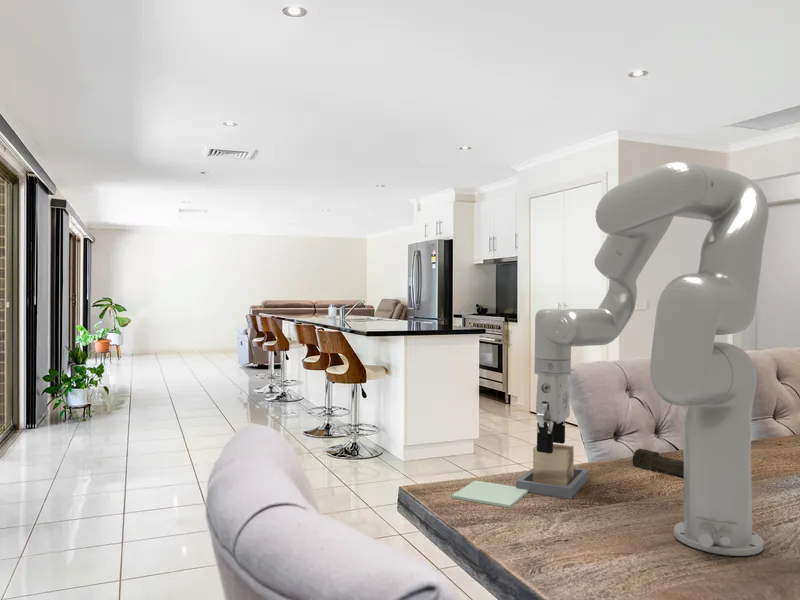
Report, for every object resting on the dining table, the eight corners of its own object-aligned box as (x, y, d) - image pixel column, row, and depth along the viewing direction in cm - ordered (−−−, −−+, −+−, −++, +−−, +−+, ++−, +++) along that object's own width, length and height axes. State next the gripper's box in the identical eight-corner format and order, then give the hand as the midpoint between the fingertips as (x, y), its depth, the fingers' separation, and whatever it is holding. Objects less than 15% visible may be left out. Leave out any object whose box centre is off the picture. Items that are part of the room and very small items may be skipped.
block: (566, 491, 121) (566, 451, 121) (533, 486, 124) (533, 448, 124) (573, 483, 126) (573, 446, 126) (541, 479, 129) (541, 442, 130)
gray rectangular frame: (570, 499, 115) (570, 488, 115) (516, 490, 121) (516, 480, 121) (588, 479, 129) (588, 469, 129) (538, 472, 135) (538, 463, 135)
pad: (510, 507, 110) (510, 505, 110) (451, 497, 116) (451, 495, 116) (529, 491, 120) (529, 488, 120) (474, 482, 126) (475, 480, 126)
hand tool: (719, 483, 127) (719, 461, 127) (709, 486, 125) (709, 464, 125) (639, 465, 143) (639, 445, 143) (629, 467, 140) (629, 447, 141)
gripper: (559, 372, 116) (558, 459, 116) (579, 364, 131) (578, 441, 131) (522, 369, 120) (521, 453, 120) (546, 362, 135) (545, 437, 135)
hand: (551, 447), depth 126 cm, fingers open, 9 cm apart
